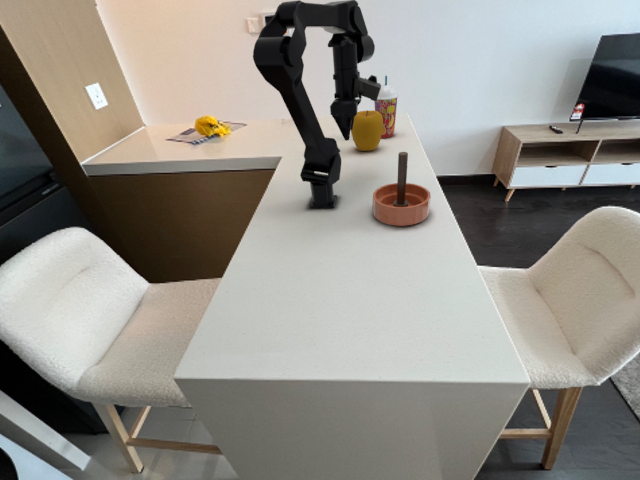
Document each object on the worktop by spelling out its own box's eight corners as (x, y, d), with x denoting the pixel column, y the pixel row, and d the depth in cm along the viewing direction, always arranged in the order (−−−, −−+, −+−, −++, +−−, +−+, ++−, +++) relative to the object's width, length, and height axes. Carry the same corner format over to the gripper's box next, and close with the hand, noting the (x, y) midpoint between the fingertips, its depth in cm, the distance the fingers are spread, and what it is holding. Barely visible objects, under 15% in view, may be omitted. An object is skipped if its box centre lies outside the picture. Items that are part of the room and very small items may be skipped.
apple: (359, 157, 113) (358, 116, 105) (346, 148, 121) (344, 109, 113) (388, 151, 116) (389, 110, 108) (374, 142, 124) (373, 104, 116)
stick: (399, 216, 80) (402, 157, 71) (389, 210, 82) (391, 153, 73) (411, 211, 81) (415, 153, 72) (401, 206, 83) (404, 149, 75)
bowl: (430, 228, 76) (432, 207, 73) (371, 227, 78) (371, 208, 75) (426, 200, 86) (428, 182, 83) (374, 201, 88) (374, 183, 85)
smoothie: (370, 135, 131) (369, 76, 118) (388, 131, 133) (390, 72, 121) (381, 140, 125) (381, 79, 112) (400, 136, 127) (403, 75, 115)
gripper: (377, 72, 73) (377, 145, 83) (380, 59, 87) (380, 123, 97) (327, 75, 75) (332, 146, 84) (337, 62, 89) (341, 125, 99)
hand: (348, 134), depth 91 cm, fingers open, 9 cm apart
